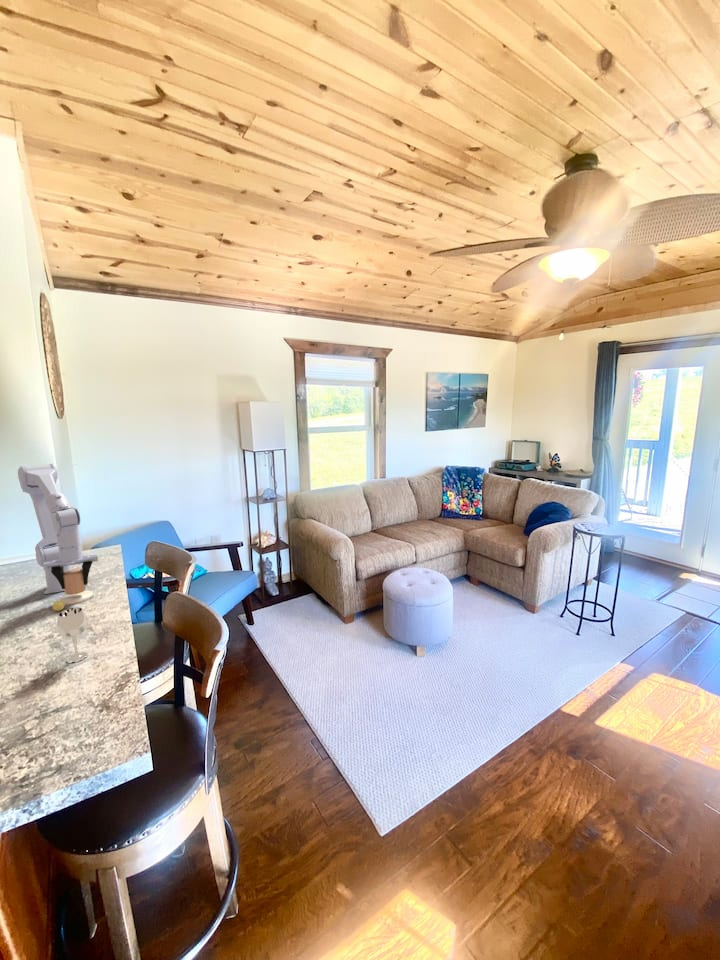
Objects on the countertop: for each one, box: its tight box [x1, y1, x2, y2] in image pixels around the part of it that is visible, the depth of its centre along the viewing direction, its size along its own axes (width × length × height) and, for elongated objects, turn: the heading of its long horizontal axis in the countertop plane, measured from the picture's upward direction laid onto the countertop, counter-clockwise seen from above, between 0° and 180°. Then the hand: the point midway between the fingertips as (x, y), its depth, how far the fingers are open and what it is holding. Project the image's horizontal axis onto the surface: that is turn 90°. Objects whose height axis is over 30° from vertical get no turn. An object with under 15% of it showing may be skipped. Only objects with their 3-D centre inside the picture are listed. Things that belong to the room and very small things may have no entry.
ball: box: [52, 600, 66, 612], centre depth 123 cm, size 3×3×3 cm
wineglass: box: [56, 606, 89, 661], centre depth 96 cm, size 6×6×12 cm
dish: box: [59, 590, 94, 606], centre depth 131 cm, size 9×9×1 cm
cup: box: [63, 568, 87, 595], centre depth 130 cm, size 6×6×7 cm
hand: (75, 585), depth 130 cm, fingers closed on cup, 5 cm apart
